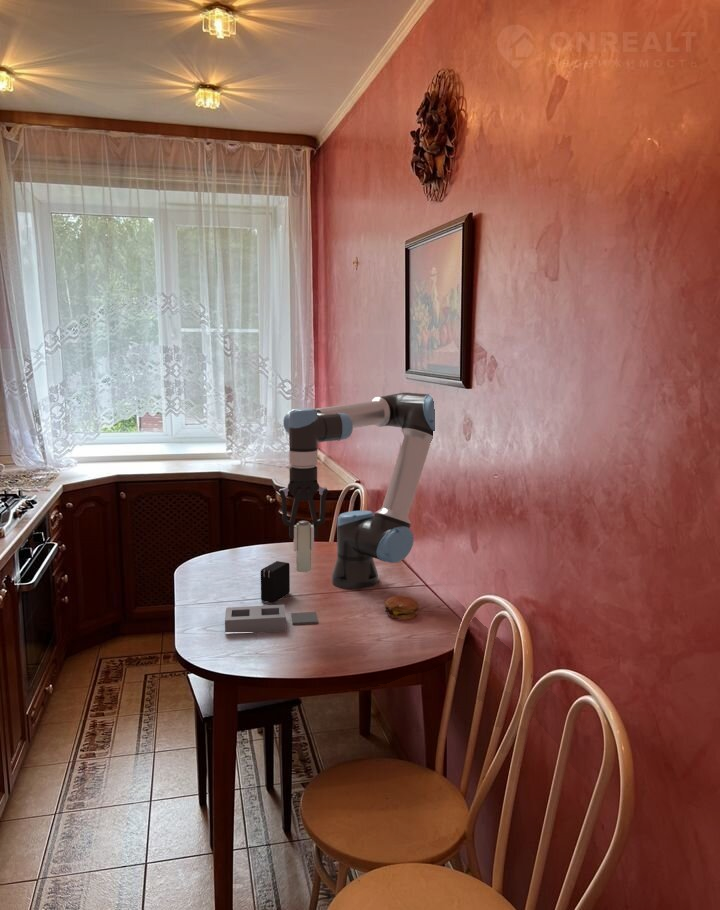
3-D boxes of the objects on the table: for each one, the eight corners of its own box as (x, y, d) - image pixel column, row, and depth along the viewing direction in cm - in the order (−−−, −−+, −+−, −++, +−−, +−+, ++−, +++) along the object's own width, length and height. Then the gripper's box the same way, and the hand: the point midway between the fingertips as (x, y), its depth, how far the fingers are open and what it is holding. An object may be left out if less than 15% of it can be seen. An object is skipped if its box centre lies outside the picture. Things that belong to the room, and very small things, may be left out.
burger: (413, 606, 200) (414, 591, 199) (422, 619, 191) (422, 603, 190) (381, 609, 198) (381, 594, 197) (388, 622, 189) (388, 606, 188)
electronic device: (290, 593, 210) (289, 562, 208) (272, 604, 201) (272, 571, 199) (278, 591, 212) (278, 560, 210) (260, 601, 203) (260, 569, 201)
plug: (310, 567, 190) (310, 520, 188) (311, 571, 186) (311, 523, 184) (296, 567, 189) (295, 520, 187) (297, 572, 185) (296, 524, 183)
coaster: (315, 613, 194) (315, 611, 194) (318, 623, 187) (318, 621, 187) (291, 615, 193) (291, 613, 193) (292, 624, 186) (292, 622, 186)
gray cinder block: (284, 618, 191) (284, 604, 190) (285, 631, 182) (285, 617, 181) (226, 621, 188) (226, 607, 188) (225, 634, 179) (224, 620, 179)
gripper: (333, 462, 188) (332, 544, 192) (271, 463, 185) (272, 546, 189) (336, 467, 181) (336, 552, 184) (271, 468, 178) (272, 554, 182)
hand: (303, 549), depth 187 cm, fingers closed on plug, 4 cm apart
